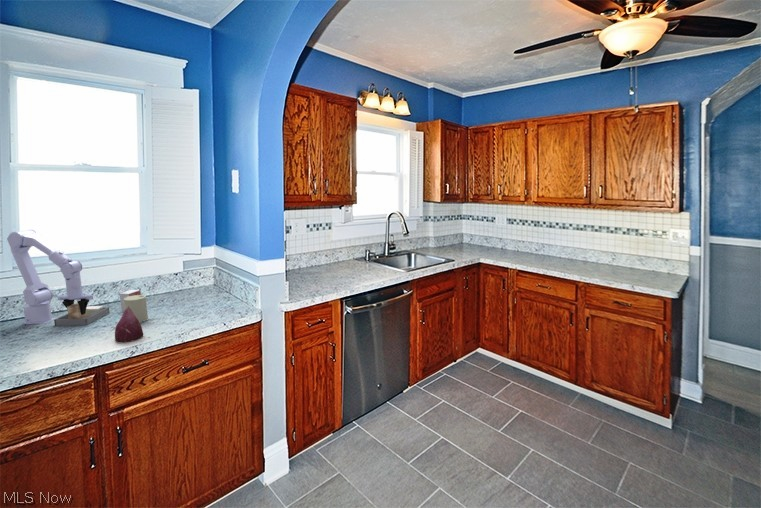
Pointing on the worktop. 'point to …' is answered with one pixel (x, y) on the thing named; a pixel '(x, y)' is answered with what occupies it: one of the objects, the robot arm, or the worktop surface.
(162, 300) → the worktop surface
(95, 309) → the white box
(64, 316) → the tray
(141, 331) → the vegetable
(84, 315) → the wood block
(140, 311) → the can
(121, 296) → the small box
